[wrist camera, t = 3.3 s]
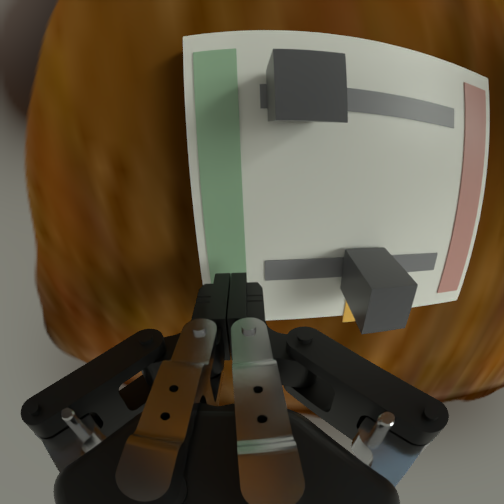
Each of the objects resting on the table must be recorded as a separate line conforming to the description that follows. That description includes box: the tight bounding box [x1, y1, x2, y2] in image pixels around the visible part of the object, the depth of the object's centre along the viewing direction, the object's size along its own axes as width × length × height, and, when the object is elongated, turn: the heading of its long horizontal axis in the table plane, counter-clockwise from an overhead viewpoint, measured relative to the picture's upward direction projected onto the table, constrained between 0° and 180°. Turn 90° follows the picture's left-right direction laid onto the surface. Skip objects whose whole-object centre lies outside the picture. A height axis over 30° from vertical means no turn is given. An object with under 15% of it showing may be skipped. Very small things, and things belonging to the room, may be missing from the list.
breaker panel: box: [183, 30, 490, 322], centre depth 15 cm, size 18×16×2 cm
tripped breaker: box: [340, 247, 418, 334], centre depth 13 cm, size 2×2×4 cm
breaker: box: [266, 49, 348, 123], centre depth 10 cm, size 2×2×4 cm
